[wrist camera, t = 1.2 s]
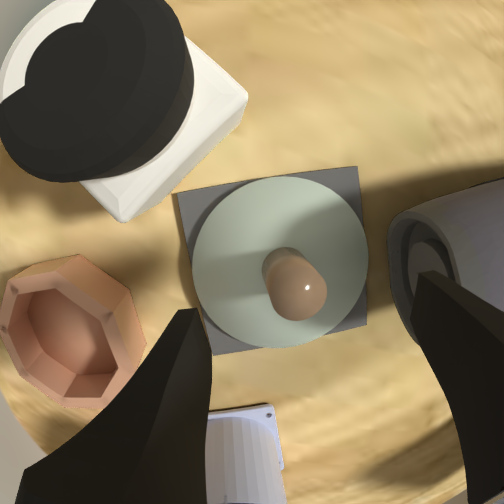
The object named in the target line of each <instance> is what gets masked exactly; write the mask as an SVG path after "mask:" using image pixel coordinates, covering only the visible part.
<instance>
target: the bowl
mask: <svg viewBox="0 0 504 504" xmlns="http://www.w3.org/2000/svg"><path fill="white" fill-rule="evenodd" d="M0 335H1V338H2V340H3V342H4V344H5V347H6V349H7V351H8V353H9V355H10V357H11V359H12V361H13V363H14V365H15V367H16V369H17V371H18V373H19V375H20V376H21V377H22V378H24V379H25V380H26V381H27V382H29V383H30V384H31V385H33V386H34V387H36V388H37V389H38V390H40V391H41V392H42V393H44V394H45V395H47V396H48V397H50V398H51V399H52V400H54V401H55V402H57V403H58V404H60V405H61V406H63V407H64V408H105V407H106V406H107V405H108V404H109V403H110V402H111V401H112V400H113V399H114V398H115V396H116V395H117V394H118V393H119V392H120V391H121V390H122V388H123V387H124V386H125V385H126V383H127V382H128V381H129V380H130V378H131V377H132V376H133V374H134V373H135V372H136V370H137V368H138V365H139V362H140V360H141V357H142V355H143V352H144V350H145V347H146V344H147V343H146V340H145V337H144V334H143V331H142V328H141V325H140V322H139V319H138V316H137V313H136V310H135V306H134V303H133V300H132V296H131V293H130V289H128V288H127V287H125V286H124V285H122V284H121V283H119V282H118V281H116V280H115V279H113V278H112V277H111V276H109V275H108V274H106V273H105V272H103V271H102V270H101V269H99V268H98V267H96V266H95V265H94V264H92V263H91V262H90V261H88V260H87V259H85V258H84V257H83V256H81V255H80V254H79V255H74V256H69V257H65V258H60V259H55V260H51V261H46V262H42V263H37V264H33V265H32V266H30V267H28V268H27V269H25V270H23V271H22V272H20V273H19V274H17V275H15V276H14V277H12V278H11V279H9V280H8V282H7V285H6V289H5V292H4V296H3V300H2V304H1V308H0Z"/></svg>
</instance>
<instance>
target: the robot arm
mask: <svg viewBox="0 0 504 504" xmlns="http://www.w3.org/2000/svg"><path fill="white" fill-rule="evenodd" d="M410 322H411V324H412V327H413V330H414V333H415V335H416V338H417V340H418V343H419V345H420V347H421V349H422V351H423V353H424V355H425V356H426V358H427V360H428V362H429V364H430V366H431V368H432V370H433V372H434V374H435V376H436V378H437V380H438V382H439V384H440V386H441V388H442V390H443V392H444V394H445V396H446V398H447V401H448V403H449V406H450V409H451V412H452V415H453V418H454V421H455V425H456V428H457V432H458V436H459V440H460V444H461V449H462V454H463V459H464V465H465V472H466V481H467V493H468V494H467V495H468V503H469V504H484V503H485V502H487V501H489V500H491V499H492V498H494V497H496V496H497V495H499V494H501V493H502V492H504V312H503V311H501V310H499V309H498V308H496V307H494V306H493V305H491V304H489V303H488V302H486V301H484V300H483V299H481V298H480V297H478V296H476V295H475V294H473V293H472V292H470V291H469V290H467V289H465V288H464V287H462V286H461V285H459V284H457V283H456V282H454V281H453V280H451V279H449V278H448V277H446V276H444V275H442V274H440V273H439V272H437V271H435V270H431V271H426V272H421V273H419V274H418V280H417V286H416V291H415V296H414V301H413V306H412V311H411V315H410ZM211 385H212V352H211V349H210V346H209V343H208V340H207V337H206V334H205V331H204V328H203V325H202V322H201V319H200V316H199V313H198V310H197V308H190V309H181V310H178V311H177V312H176V314H175V315H174V316H173V318H172V319H171V321H170V323H169V324H168V326H167V327H166V329H165V330H164V332H163V333H162V335H161V336H160V338H159V339H158V341H157V342H156V344H155V345H154V347H153V348H152V350H151V351H150V353H149V354H148V355H147V357H146V358H145V360H144V361H143V363H142V364H141V365H140V367H139V368H138V369H137V370H136V372H135V373H134V374H133V376H132V377H131V378H130V380H129V381H128V382H127V383H126V385H125V386H124V387H123V388H122V390H121V391H120V392H119V393H118V394H117V395H116V396H115V398H114V399H113V400H112V401H111V402H110V403H109V404H108V405H107V406H106V407H105V408H104V409H103V410H102V411H101V412H100V413H99V414H98V415H97V416H96V417H95V418H94V419H93V420H92V421H91V422H90V423H88V424H87V425H86V426H85V427H84V428H83V429H82V430H81V431H80V432H78V433H77V434H76V435H75V436H74V437H72V438H71V439H70V440H69V441H67V442H66V443H65V444H63V445H62V446H61V447H59V448H58V449H57V450H55V451H54V452H52V453H51V454H49V455H48V456H46V457H45V458H43V459H41V460H40V461H38V462H37V463H35V464H33V465H32V466H30V467H28V468H27V469H25V470H24V472H23V476H22V479H21V482H20V486H19V490H18V493H17V497H16V501H15V504H287V500H286V495H285V490H284V485H283V480H282V475H281V470H283V469H284V463H283V458H282V452H281V446H280V440H279V434H278V429H277V423H276V417H275V411H274V407H273V405H271V404H264V405H259V406H252V407H246V408H240V409H233V410H225V411H217V412H209V404H210V395H211ZM268 413H271V414H268ZM493 504H504V497H503V498H501V499H499V500H498V501H496V502H494V503H493Z"/></svg>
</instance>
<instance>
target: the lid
mask: <svg viewBox="0 0 504 504" xmlns="http://www.w3.org/2000/svg"><path fill="white" fill-rule="evenodd" d="M368 256H369V254H368V245H367V240H366V236H365V232H364V230H363V227H362V225H361V222H360V221H359V219H358V217H357V215H356V214H355V212H354V211H353V210H352V208H351V207H350V206H349V204H348V203H347V202H346V201H345V200H344V199H342V198H341V197H340V196H339V195H338V194H336V193H335V192H334V191H332V190H331V189H329V188H327V187H325V186H323V185H322V184H319V183H317V182H314V181H311V180H308V179H303V178H298V177H286V176H280V177H269V178H265V179H260V180H257V181H254V182H251V183H248V184H246V185H244V186H242V187H240V188H238V189H237V190H235V191H234V192H232V193H231V194H229V195H228V196H227V197H225V198H224V199H223V200H222V201H221V202H220V203H219V204H218V205H217V206H216V207H215V208H214V209H213V211H212V212H211V213H210V214H209V216H208V217H207V219H206V221H205V222H204V224H203V226H202V228H201V230H200V233H199V235H198V237H197V240H196V244H195V248H194V252H193V260H192V275H193V281H194V286H195V290H196V293H197V296H198V298H199V300H200V303H201V305H202V307H203V308H204V310H205V311H206V313H207V314H208V316H209V317H210V318H211V319H212V320H213V322H214V323H215V324H216V325H217V326H219V327H220V328H221V329H222V330H223V331H224V332H226V333H227V334H229V335H230V336H232V337H234V338H236V339H238V340H240V341H242V342H245V343H248V344H251V345H254V346H259V347H266V348H286V347H293V346H297V345H301V344H305V343H307V342H310V341H312V340H315V339H317V338H319V337H321V336H322V335H324V334H326V333H327V332H329V331H330V330H332V329H333V328H334V327H335V326H336V325H338V324H339V323H340V322H341V321H342V320H343V319H344V318H345V317H346V316H347V315H348V313H349V312H350V311H351V309H352V308H353V306H354V305H355V303H356V302H357V300H358V298H359V296H360V294H361V292H362V289H363V287H364V284H365V280H366V276H367V271H368Z"/></svg>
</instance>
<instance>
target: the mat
mask: <svg viewBox="0 0 504 504" xmlns="http://www.w3.org/2000/svg"><path fill="white" fill-rule="evenodd" d="M280 176H286V177H298V178H303V179H308V180H311V181H314V182H317V183H319V184H322V185H323V186H325V187H327V188H329V189H331V190H332V191H334V192H335V193H336V194H338V195H339V196H340V197H341V198H342V199H344V200H345V201H346V202H347V203H348V204H349V206H350V207H351V208H352V210H353V211H354V212H355V214H356V215H357V217H358V219H359V221H360V222H361V225H362V227H363V216H362V204H361V194H360V184H359V175H358V167H357V166H353V167H344V168H335V169H326V170H318V171H310V172H302V173H295V174H287V175H280ZM280 176H273V177H280ZM266 178H269V177H266ZM260 179H265V178H260ZM260 179H253V180H247V181H241V182H235V183H229V184H223V185H217V186H212V187H206V188H201V189H196V190H190V191H185V192H180V193H177V197H178V203H179V208H180V213H181V218H182V223H183V228H184V233H185V238H186V243H187V248H188V252H189V257H190V262H191V266H192V260H193V252H194V248H195V244H196V240H197V237H198V235H199V233H200V230H201V228H202V226H203V224H204V222H205V221H206V219H207V217H208V216H209V214H210V213H211V212H212V211H213V209H214V208H215V207H216V206H217V205H218V204H219V203H220V202H221V201H222V200H223V199H224V198H225V197H227V196H228V195H229V194H231V193H232V192H234V191H235V190H237V189H238V188H240V187H242V186H244V185H246V184H248V183H251V182H254V181H257V180H260ZM363 230H364V229H363ZM199 301H200V300H199ZM200 306H201V310H202V314H203V318H204V322H205V326H206V330H207V334H208V338H209V342H210V346H211V350H212V354H213V356H214V355H221V354H228V353H234V352H240V351H246V350H252V349H258V348H263V347H259V346H254V345H251V344H248V343H245V342H242V341H240V340H238V339H236V338H234V337H232V336H230V335H229V334H227V333H226V332H224V331H223V330H222V329H221V328H220V327H219V326H217V325H216V324H215V323H214V322H213V320H212V319H211V318H210V317H209V316H208V314H207V313H206V311H205V310H204V308H203V307H202V305H201V303H200ZM364 325H367V299H366V280H365V284H364V287H363V289H362V292H361V294H360V296H359V298H358V300H357V302H356V303H355V305H354V306H353V308H352V309H351V311H350V312H349V313H348V315H347V316H346V317H345V318H344V319H343V320H342V321H341V322H340V323H339V324H338V325H336V326H335V327H334V328H333V329H332V330H330V331H329V332H327V333H326V334H324V335H327V334H331V333H336V332H340V331H344V330H348V329H352V328H356V327H360V326H364ZM322 336H323V335H322Z"/></svg>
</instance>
